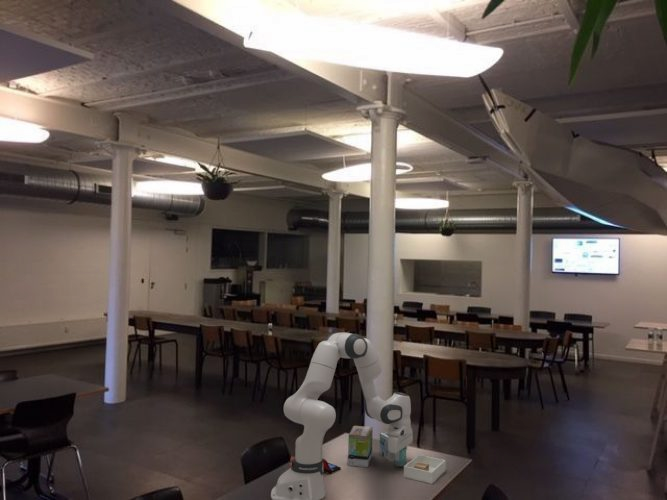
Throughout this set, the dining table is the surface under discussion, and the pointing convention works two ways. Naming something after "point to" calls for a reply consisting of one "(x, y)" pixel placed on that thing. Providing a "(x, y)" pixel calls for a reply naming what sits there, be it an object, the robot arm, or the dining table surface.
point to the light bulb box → (385, 447)
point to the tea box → (360, 446)
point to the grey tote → (431, 476)
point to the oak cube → (422, 466)
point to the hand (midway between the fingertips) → (400, 457)
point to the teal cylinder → (401, 458)
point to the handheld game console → (330, 467)
